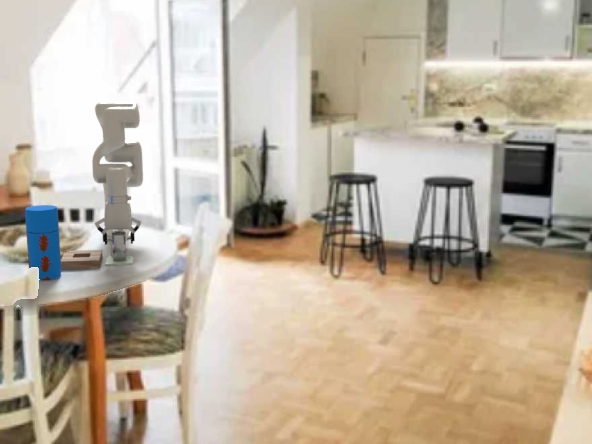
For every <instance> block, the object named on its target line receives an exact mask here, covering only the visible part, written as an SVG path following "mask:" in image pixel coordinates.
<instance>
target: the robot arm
mask: <svg viewBox="0 0 592 444" xmlns="http://www.w3.org/2000/svg"><path fill="white" fill-rule="evenodd" d="M94 110H95V111H94V112H95V116H96V119H97V120H98V123H99V125H100V127H101V131H102V142H101V143H100V144H99V145H98V146H97V148H96V149H95V151H94V153H93V155H92V160H91V161H92V162H91V163H92V177H93V180H94V182H95V183H97V184H100V185H101V184H102V187H103V195H104V196H103V197H104V215H103V216H104V217H102V218H100V219H99V220H97V221H95V222H94V226H95V227H96V229H97V231H99V232H100V233H101V234H102V242H103V243H104V245H108V240H110V241H112V232H113V229H129V230H130V233H129V235H128V236H127V239H130V244H133V243H134V242H135V239H136V238H135V233H136V232H137V231H138V230H139V229H140V226H141V225H142V220H140V219H137V218H135V217H133V215H132V207H131V203H130V200H131V201H132V196H131V195H128V188H137V187H141V186H142V185H143V183H144V171H143V166H144V164H143V148H142V145H141V143H140V141H138V140H129V139H128V140H126V132H125V131H126V130H125V129H137V128H138V127H139V125H140V121H141V119H140V118H141V117H140V109H139V106H138V104H137V103H136V102H134V101H102V102H98V103H97V104H96V105H95V106H94ZM103 157H104V159H105V161H106V162H108V163H101V162H100V161H101V160H102V158H103ZM126 163H127V164H126ZM128 163H129V164H131V165H129V164H128ZM103 223H104V225H103V226H104V228H103V227H101V225H100V224H103ZM133 223H135V224H136V226H134V227H133V226H132V225H133Z"/></svg>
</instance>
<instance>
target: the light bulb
mask: <svg viewBox="0 0 592 444" xmlns="http://www.w3.org/2000/svg"><path fill="white" fill-rule="evenodd" d="M113 231H125V232H126V241H128V240H127V236H128V235H129V233H131V231H130V230H129V229H113Z"/></svg>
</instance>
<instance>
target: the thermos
mask: <svg viewBox="0 0 592 444" xmlns="http://www.w3.org/2000/svg"><path fill="white" fill-rule="evenodd" d="M24 211H25V212H24V217H25V228H26V229H25V231H26V246H27V259H28V269H29V268H31V267H38V268H39V279H40V280H41V281H42V282H43V281H44V282H45V281H52V280H56V279H58V278H61V276H62V269H61V259H62V257H61V244H60V227H59V226H60V225H59V209H58V206H56V205H50V204H42V205H41V204H40V205H39V204H38V205H31V206H28V207H26V208H25V209H24ZM41 281H40V282H41Z"/></svg>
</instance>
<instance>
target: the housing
mask: <svg viewBox="0 0 592 444" xmlns="http://www.w3.org/2000/svg"><path fill="white" fill-rule="evenodd" d="M68 251H69V252H66V253H65V252H63V255H62V257H61V270H79V269H80V270H81V269H98V268H101V265H102V264H101V263H102V260H103V256H104V255H103V249H82V250H80V249H79V250H68Z"/></svg>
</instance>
